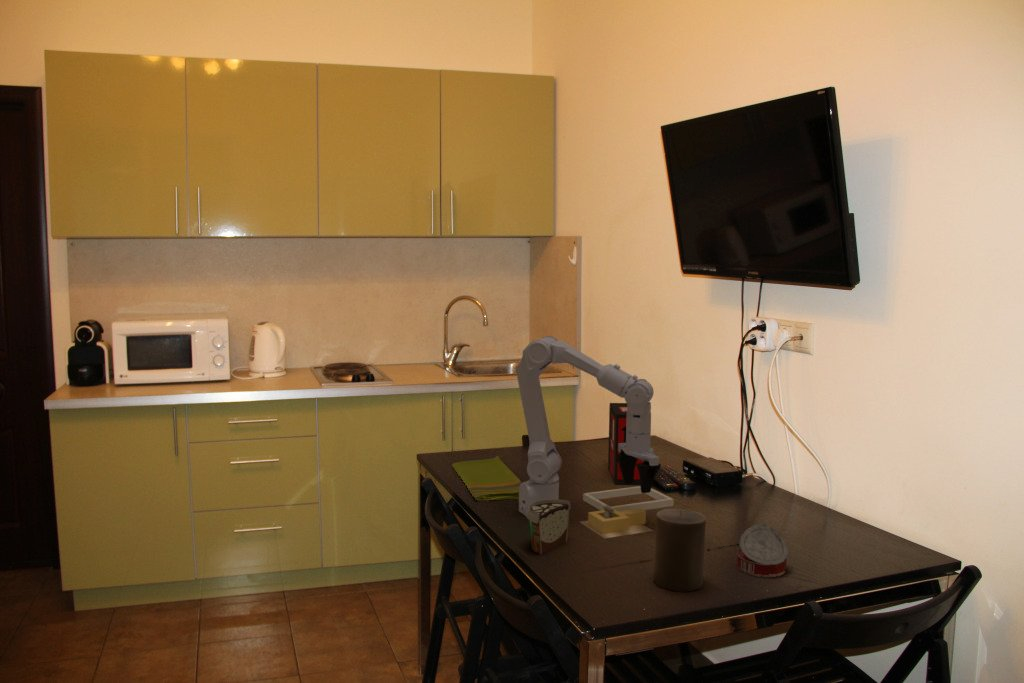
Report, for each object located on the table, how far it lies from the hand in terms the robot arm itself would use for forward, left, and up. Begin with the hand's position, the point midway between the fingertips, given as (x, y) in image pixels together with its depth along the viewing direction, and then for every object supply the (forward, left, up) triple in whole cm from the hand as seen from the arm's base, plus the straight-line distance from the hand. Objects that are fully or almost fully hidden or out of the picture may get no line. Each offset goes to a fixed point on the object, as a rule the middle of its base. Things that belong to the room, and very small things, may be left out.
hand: (636, 487), depth 197 cm
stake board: (-6, 0, -9) cm, 11 cm away
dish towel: (-18, +48, -10) cm, 52 cm away
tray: (+6, +14, -9) cm, 18 cm away
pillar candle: (-10, -31, -10) cm, 34 cm away
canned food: (+10, -32, -10) cm, 35 cm away
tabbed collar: (-5, 0, -9) cm, 10 cm away
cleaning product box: (+20, +37, -10) cm, 43 cm away
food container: (-27, -4, -10) cm, 29 cm away
